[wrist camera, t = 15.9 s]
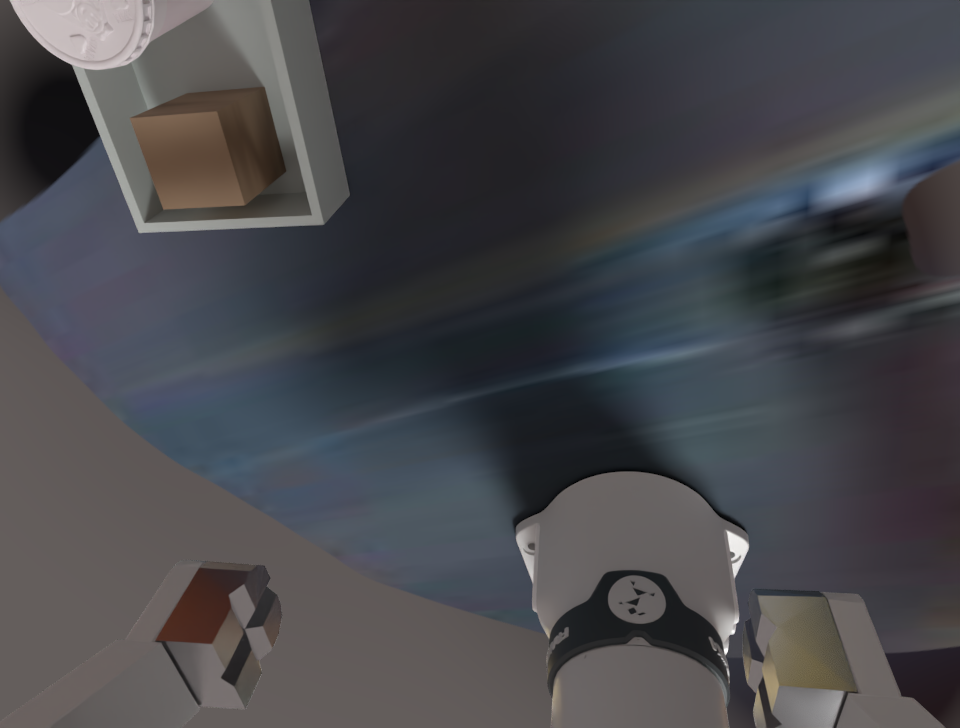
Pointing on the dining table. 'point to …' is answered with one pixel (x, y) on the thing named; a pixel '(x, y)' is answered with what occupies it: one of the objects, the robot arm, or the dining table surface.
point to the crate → (223, 66)
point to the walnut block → (210, 148)
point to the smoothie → (102, 27)
